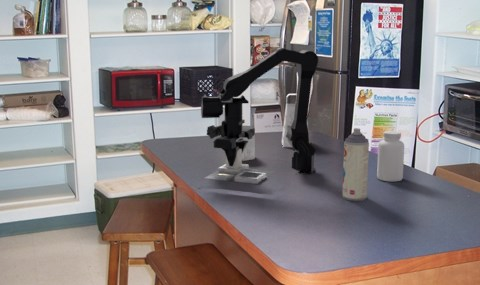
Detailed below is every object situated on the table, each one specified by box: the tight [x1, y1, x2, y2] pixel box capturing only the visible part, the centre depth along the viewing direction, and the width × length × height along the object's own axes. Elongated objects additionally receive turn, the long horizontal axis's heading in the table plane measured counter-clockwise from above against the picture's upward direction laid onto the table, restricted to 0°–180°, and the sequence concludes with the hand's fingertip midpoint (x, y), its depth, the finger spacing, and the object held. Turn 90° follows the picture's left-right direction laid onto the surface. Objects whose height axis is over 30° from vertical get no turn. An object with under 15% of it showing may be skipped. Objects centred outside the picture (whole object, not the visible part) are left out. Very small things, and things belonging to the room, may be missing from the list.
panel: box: [204, 163, 277, 185], centre depth 198 cm, size 18×16×3 cm
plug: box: [225, 149, 243, 169], centre depth 203 cm, size 4×4×8 cm
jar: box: [242, 125, 256, 162], centre depth 220 cm, size 9×8×12 cm
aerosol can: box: [342, 127, 370, 202], centre depth 176 cm, size 7×7×20 cm
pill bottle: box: [376, 130, 405, 183], centre depth 196 cm, size 8×8×15 cm
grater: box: [281, 93, 311, 148], centre depth 246 cm, size 10×10×20 cm
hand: (233, 164), depth 203 cm, fingers closed on plug, 4 cm apart
